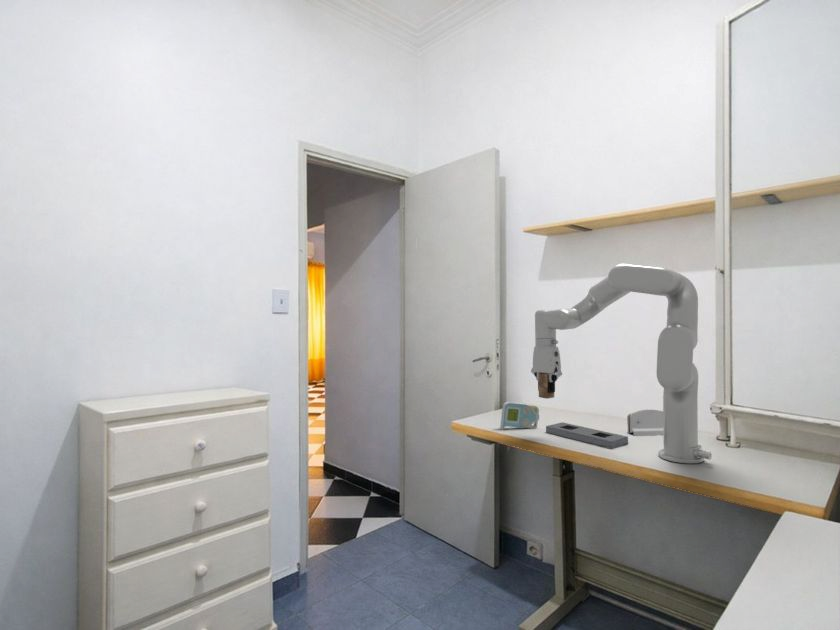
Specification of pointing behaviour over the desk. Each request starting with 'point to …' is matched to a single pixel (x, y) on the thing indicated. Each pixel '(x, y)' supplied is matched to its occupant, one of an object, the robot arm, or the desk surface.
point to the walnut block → (544, 386)
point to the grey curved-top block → (645, 423)
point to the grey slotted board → (587, 435)
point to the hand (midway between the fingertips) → (546, 391)
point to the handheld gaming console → (519, 415)
